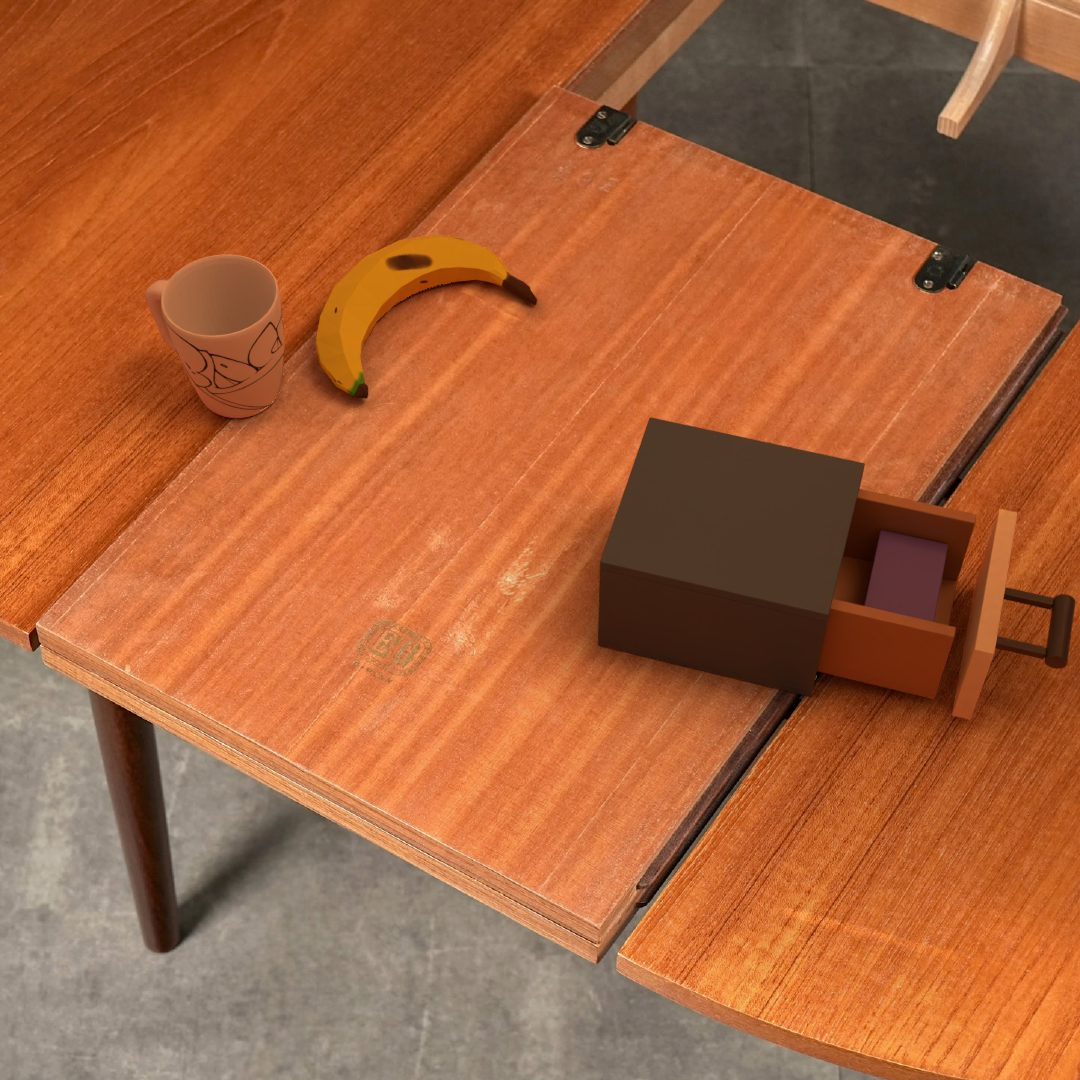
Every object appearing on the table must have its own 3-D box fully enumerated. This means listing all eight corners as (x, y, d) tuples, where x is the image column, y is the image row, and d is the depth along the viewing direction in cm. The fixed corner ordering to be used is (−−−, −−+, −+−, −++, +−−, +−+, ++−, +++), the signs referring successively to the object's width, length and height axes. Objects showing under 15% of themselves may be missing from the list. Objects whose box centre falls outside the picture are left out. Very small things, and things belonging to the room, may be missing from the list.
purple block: (938, 579, 115) (948, 544, 112) (920, 675, 110) (930, 641, 107) (872, 564, 116) (880, 529, 113) (851, 659, 111) (859, 625, 108)
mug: (131, 390, 129) (102, 295, 121) (199, 320, 133) (175, 225, 125) (253, 446, 126) (232, 353, 118) (318, 373, 130) (302, 278, 122)
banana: (289, 354, 125) (480, 420, 124) (374, 192, 134) (553, 252, 133) (289, 390, 129) (474, 455, 128) (373, 230, 138) (546, 289, 137)
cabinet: (846, 550, 119) (865, 462, 111) (811, 697, 112) (828, 615, 104) (644, 504, 122) (649, 416, 114) (597, 645, 115) (599, 561, 107)
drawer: (1066, 598, 115) (1095, 528, 109) (1047, 738, 109) (1076, 673, 102) (799, 538, 119) (812, 467, 112) (765, 670, 112) (776, 603, 106)
